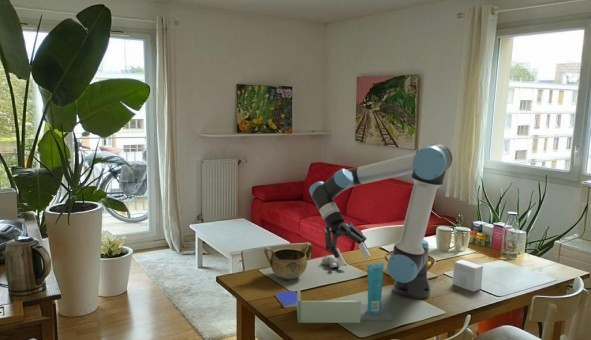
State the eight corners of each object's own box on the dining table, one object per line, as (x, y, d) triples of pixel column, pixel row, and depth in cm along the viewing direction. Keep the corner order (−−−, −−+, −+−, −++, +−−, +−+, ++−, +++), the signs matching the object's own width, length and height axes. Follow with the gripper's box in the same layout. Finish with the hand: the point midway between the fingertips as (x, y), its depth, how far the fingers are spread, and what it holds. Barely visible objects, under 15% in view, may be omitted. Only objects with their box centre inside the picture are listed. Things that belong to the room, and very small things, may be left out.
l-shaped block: (355, 309, 183) (356, 289, 182) (360, 322, 172) (360, 302, 171) (296, 308, 183) (297, 289, 181) (297, 322, 172) (298, 302, 170)
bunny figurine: (336, 252, 237) (349, 259, 223) (336, 262, 237) (349, 269, 223) (318, 254, 234) (330, 261, 220) (319, 264, 234) (331, 271, 220)
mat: (385, 306, 186) (385, 304, 186) (392, 320, 174) (392, 319, 174) (355, 306, 186) (355, 304, 186) (360, 320, 174) (360, 319, 174)
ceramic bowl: (304, 268, 226) (305, 237, 224) (318, 281, 210) (319, 248, 208) (259, 273, 219) (260, 242, 216) (270, 287, 203) (270, 253, 201)
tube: (376, 307, 184) (379, 260, 181) (385, 312, 180) (387, 263, 177) (362, 311, 180) (364, 263, 177) (370, 316, 176) (372, 267, 173)
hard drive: (304, 302, 186) (293, 290, 198) (284, 305, 184) (275, 292, 195) (304, 306, 187) (293, 293, 198) (284, 309, 184) (275, 296, 195)
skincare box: (481, 288, 205) (483, 265, 203) (473, 292, 201) (475, 268, 199) (460, 281, 213) (462, 258, 211) (452, 284, 209) (453, 261, 207)
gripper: (349, 216, 205) (373, 259, 195) (303, 225, 190) (327, 272, 181) (358, 206, 200) (383, 250, 190) (312, 215, 185) (336, 262, 176)
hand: (356, 261), depth 185 cm, fingers open, 13 cm apart
